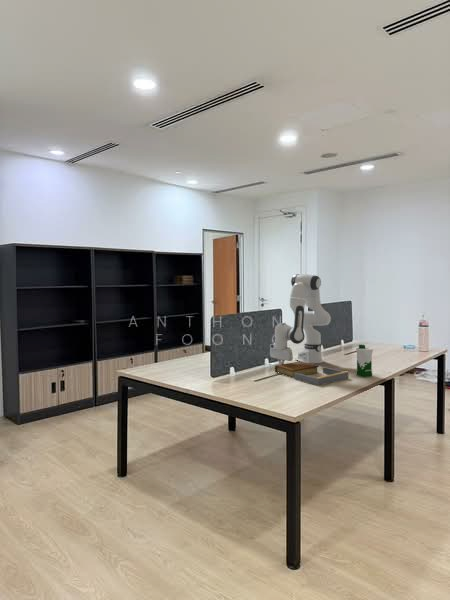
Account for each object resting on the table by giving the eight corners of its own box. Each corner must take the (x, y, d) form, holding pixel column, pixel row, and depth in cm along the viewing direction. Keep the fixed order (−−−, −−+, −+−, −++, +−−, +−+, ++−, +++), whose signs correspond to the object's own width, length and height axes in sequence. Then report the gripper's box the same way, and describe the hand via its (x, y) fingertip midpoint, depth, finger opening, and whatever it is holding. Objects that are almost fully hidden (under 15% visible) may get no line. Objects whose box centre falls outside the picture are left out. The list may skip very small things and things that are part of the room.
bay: (294, 379, 268) (294, 372, 268) (324, 372, 285) (324, 366, 284) (318, 385, 252) (318, 378, 252) (348, 378, 268) (348, 371, 268)
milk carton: (364, 373, 281) (364, 344, 280) (374, 376, 273) (374, 345, 272) (354, 375, 277) (354, 345, 276) (364, 378, 269) (364, 347, 268)
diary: (300, 369, 300) (300, 361, 300) (318, 374, 284) (318, 365, 284) (274, 373, 288) (274, 364, 288) (292, 378, 272) (292, 369, 272)
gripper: (294, 347, 291) (294, 367, 292) (274, 343, 308) (275, 362, 309) (288, 348, 288) (288, 368, 288) (268, 344, 304) (268, 363, 305)
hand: (281, 365), depth 299 cm, fingers closed
